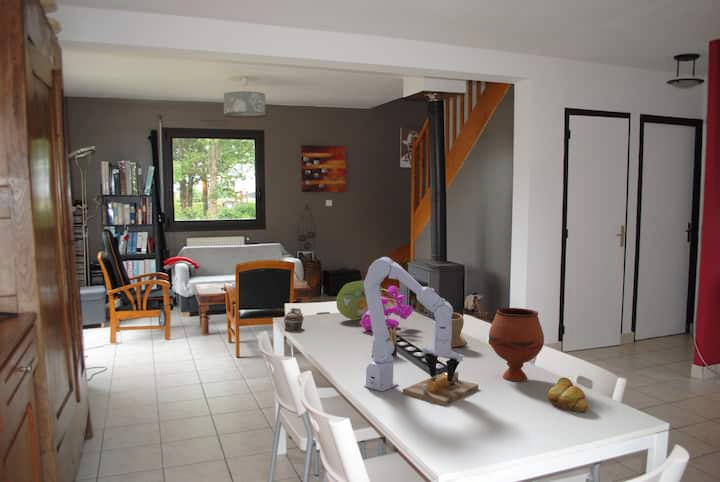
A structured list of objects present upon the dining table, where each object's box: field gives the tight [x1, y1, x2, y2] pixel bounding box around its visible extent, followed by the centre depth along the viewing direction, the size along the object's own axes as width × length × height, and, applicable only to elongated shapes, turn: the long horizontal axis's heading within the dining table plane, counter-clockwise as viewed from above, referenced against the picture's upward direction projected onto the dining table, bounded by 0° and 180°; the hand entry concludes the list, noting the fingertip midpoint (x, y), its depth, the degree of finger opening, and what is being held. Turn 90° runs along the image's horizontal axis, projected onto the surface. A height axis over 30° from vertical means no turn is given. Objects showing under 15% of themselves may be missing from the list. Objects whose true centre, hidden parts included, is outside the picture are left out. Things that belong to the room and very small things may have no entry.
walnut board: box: [402, 370, 479, 407], centre depth 188 cm, size 22×16×4 cm
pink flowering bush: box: [335, 279, 414, 332], centre depth 286 cm, size 30×28×35 cm
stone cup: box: [451, 312, 468, 348], centre depth 248 cm, size 15×12×15 cm
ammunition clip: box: [371, 327, 398, 358], centre depth 229 cm, size 11×2×12 cm, turn 115°
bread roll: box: [547, 377, 589, 412], centre depth 176 cm, size 13×10×8 cm
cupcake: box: [283, 307, 305, 331], centre depth 275 cm, size 10×10×10 cm
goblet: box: [488, 307, 545, 383], centre depth 203 cm, size 19×19×25 cm
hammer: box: [426, 371, 455, 393], centre depth 188 cm, size 13×4×4 cm, turn 140°
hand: (441, 378), depth 188 cm, fingers open, 6 cm apart
